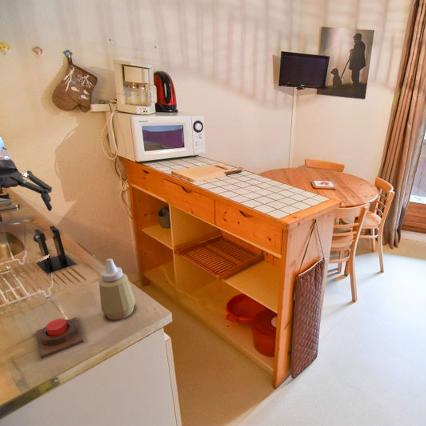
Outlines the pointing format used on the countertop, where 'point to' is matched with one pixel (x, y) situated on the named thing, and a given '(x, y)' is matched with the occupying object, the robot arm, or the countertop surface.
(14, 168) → the robot arm
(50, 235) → the lever
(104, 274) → the squeeze bottle
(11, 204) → the countertop surface
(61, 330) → the button
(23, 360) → the countertop surface
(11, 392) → the countertop surface
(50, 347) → the button box
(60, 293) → the countertop surface
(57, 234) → the bracket
